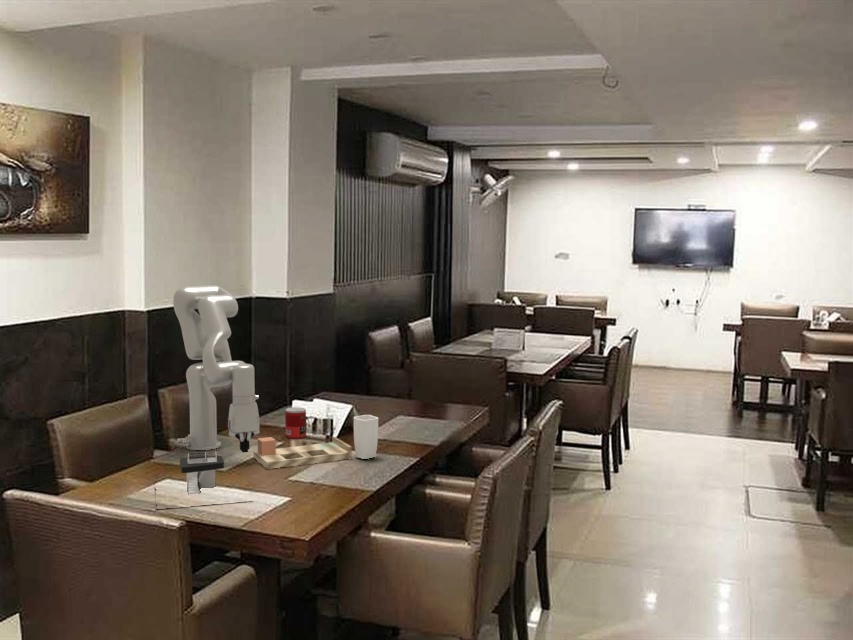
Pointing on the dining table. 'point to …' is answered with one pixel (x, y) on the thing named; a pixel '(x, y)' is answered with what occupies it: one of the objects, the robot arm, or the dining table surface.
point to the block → (266, 446)
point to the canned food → (295, 422)
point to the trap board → (306, 454)
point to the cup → (365, 436)
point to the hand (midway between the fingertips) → (244, 451)
